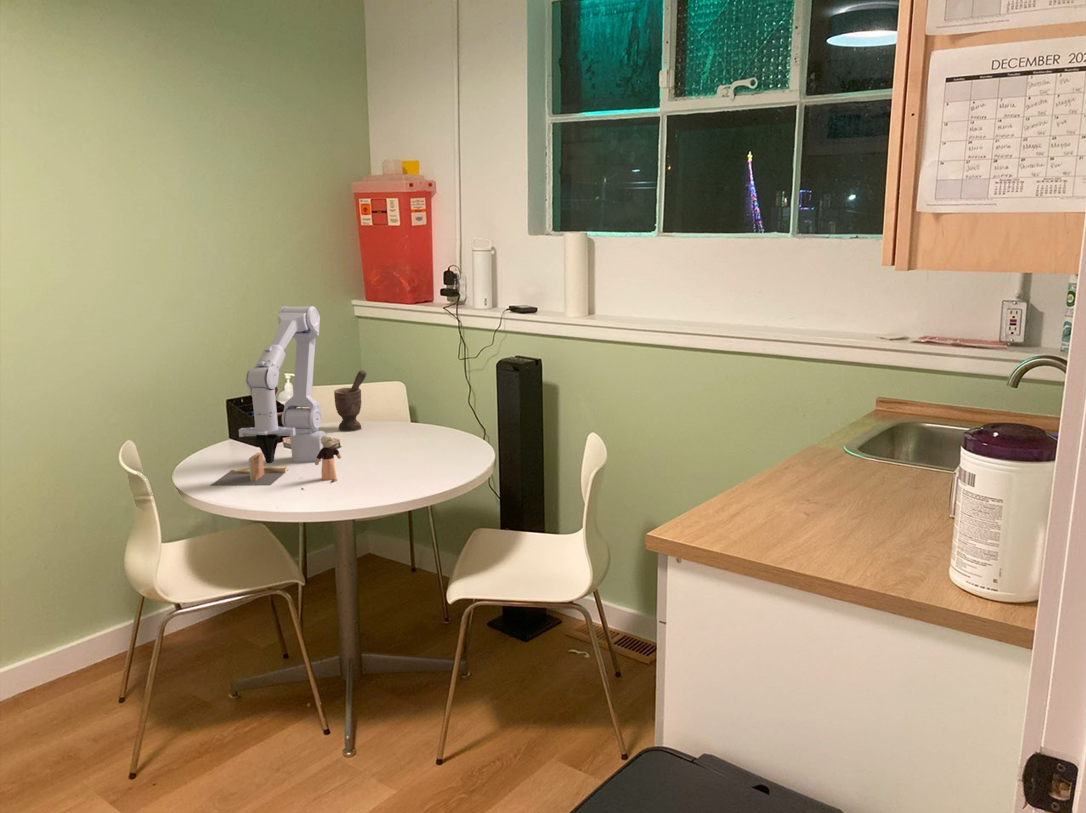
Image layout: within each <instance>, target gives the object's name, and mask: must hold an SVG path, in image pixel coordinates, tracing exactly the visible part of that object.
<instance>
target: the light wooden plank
mask: <svg viewBox="0 0 1086 813" xmlns="http://www.w3.org/2000/svg"><path fill="white" fill-rule="evenodd" d="M234 470H235V471H234V474H238V473H250V468H249V467H243V468H242V467H238V468H236V469H234ZM288 471H289V469H288V466H287V465H285V466H283V465H282V466H264V473H272V472H286V473H287V472H288Z"/></svg>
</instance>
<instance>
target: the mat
mask: <svg viewBox="0 0 1086 813" xmlns="http://www.w3.org/2000/svg"><path fill="white" fill-rule="evenodd" d="M235 470H236V469H231V470H230V471H228V472H227V473H226V474H224V475H223V476H221V477H220V478H218V479H217V480H216V481H214V482H213V483H211V484H210V485H209V486H210V487H219V486H222V487H225V486H226V487H227V486H230V487H231V486H232V487H233V486H235V487H237V486H239V487H240V486H241V487H242V486H243V487H245V486H253V487H254V486H256V487H257V486H271V485H273V484H274V483H275V482H276V481H277V480H279V478H282V477H283V475H285V474H286V473H287V472H272V473H264V475H263V476H261V477H260V478H259V479H258V480H256V481H251V478H250V473H238V474H234V471H235Z"/></svg>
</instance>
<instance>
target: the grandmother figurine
mask: <svg viewBox="0 0 1086 813" xmlns="http://www.w3.org/2000/svg"><path fill="white" fill-rule="evenodd" d="M320 441H321V444H323V446H324V448H322V449H321V450H320V452H319V454H318V455H317V458H316V462H314V465H315V466H318V465H319V464H320V462H321V472H320V473H321V480H322V481H325V482H326V481H330V482H333V483H334V482H337V481H338V478H337V472H336V467H335V456H336V458H337V459H338V460H340V459H341V458H342V456H341V454H340V451H339V450H338V449H337V448H336V447H334V446H333V443H334V437H333V436H332V435H331V434H326V433H325V435H324V436H322V437H321V440H320ZM321 458H322V461H320V459H321Z"/></svg>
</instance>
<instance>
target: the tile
mask: <svg viewBox="0 0 1086 813" xmlns="http://www.w3.org/2000/svg"><path fill="white" fill-rule="evenodd" d="M248 465H249V467H248V468H250V478H251V481H256V480H258V479H259V478H260V477H261V476H263V475H264V467H265V466H264V455H263V453H262V452H256V453H255V454H253V455H252V456H250V457H249V458H248Z"/></svg>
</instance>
